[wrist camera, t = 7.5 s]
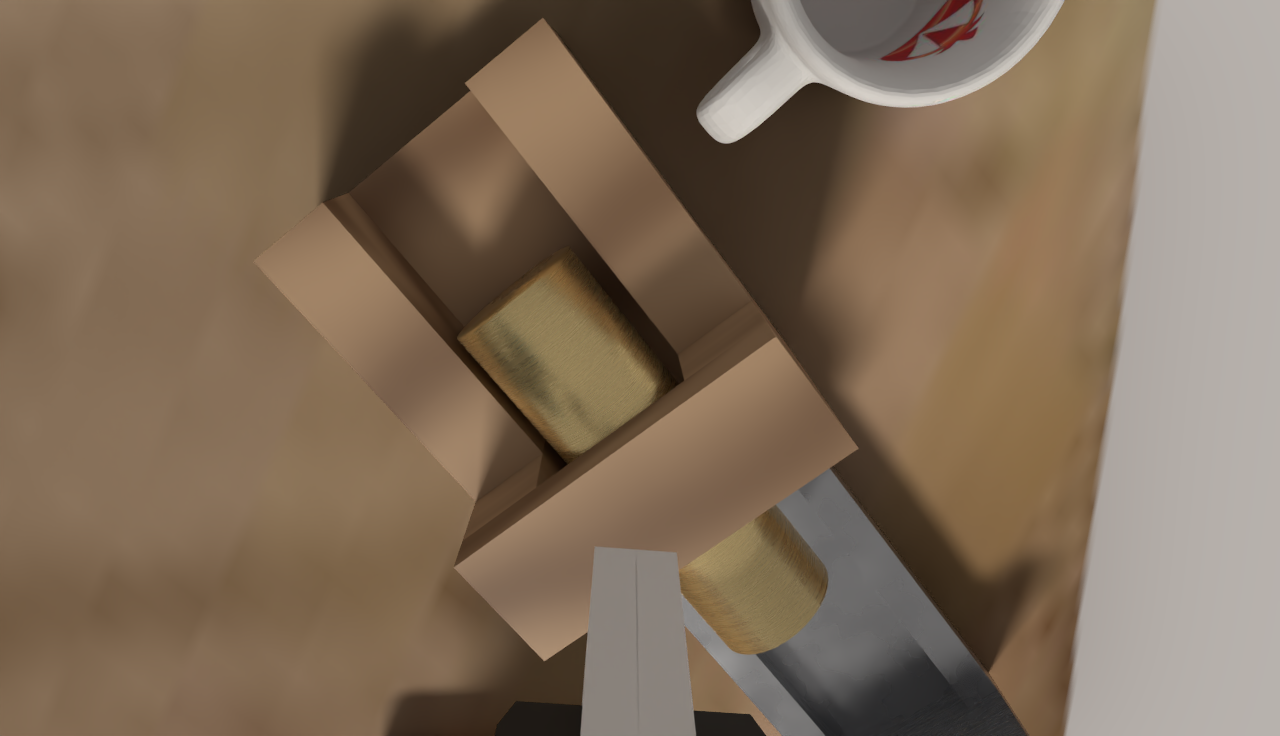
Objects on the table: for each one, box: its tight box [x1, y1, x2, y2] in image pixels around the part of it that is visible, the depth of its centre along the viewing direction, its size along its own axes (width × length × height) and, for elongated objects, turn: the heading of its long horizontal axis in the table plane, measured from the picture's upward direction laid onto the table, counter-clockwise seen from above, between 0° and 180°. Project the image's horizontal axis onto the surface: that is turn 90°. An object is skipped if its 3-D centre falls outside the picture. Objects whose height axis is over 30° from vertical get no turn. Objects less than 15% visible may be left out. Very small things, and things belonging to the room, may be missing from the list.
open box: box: [253, 18, 859, 661], centre depth 26 cm, size 14×11×10 cm
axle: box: [457, 246, 828, 655], centre depth 28 cm, size 14×4×4 cm, turn 37°
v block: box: [681, 467, 1029, 736], centre depth 33 cm, size 17×8×5 cm, turn 37°
